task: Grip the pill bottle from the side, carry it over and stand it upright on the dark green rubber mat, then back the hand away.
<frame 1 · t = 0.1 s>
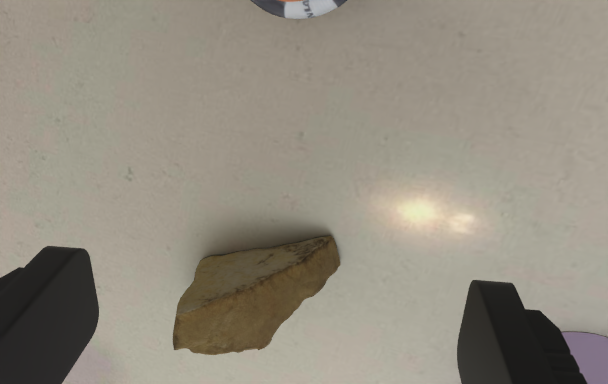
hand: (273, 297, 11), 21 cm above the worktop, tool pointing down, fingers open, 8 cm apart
rock: (266, 266, 37), on the worktop
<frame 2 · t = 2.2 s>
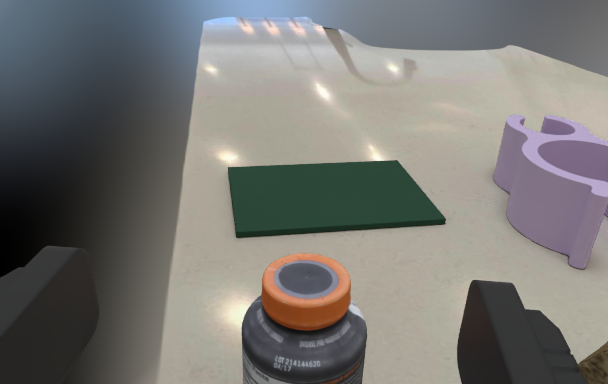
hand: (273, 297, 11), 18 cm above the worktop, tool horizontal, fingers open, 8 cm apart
clip: (559, 213, 54), on the worktop
mat: (328, 196, 55), on the worktop
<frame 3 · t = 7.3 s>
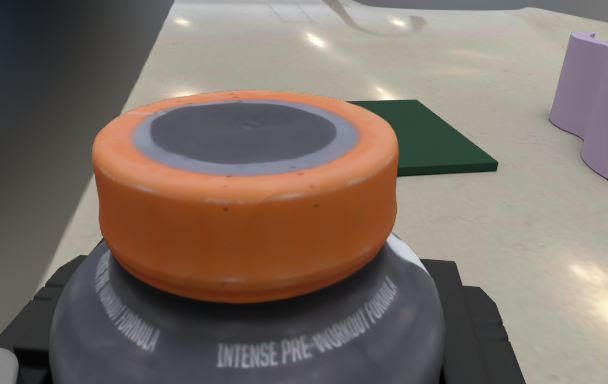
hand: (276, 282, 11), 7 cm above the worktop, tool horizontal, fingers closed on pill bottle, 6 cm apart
mat: (323, 138, 38), on the worktop
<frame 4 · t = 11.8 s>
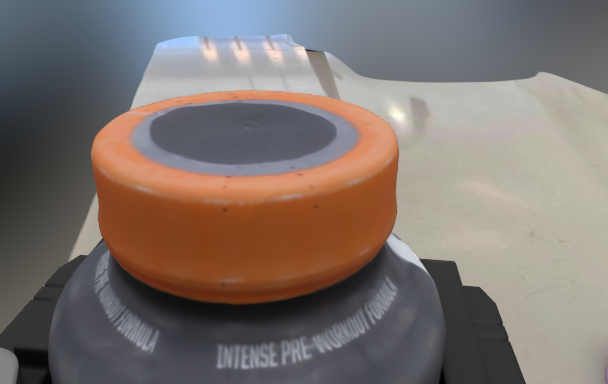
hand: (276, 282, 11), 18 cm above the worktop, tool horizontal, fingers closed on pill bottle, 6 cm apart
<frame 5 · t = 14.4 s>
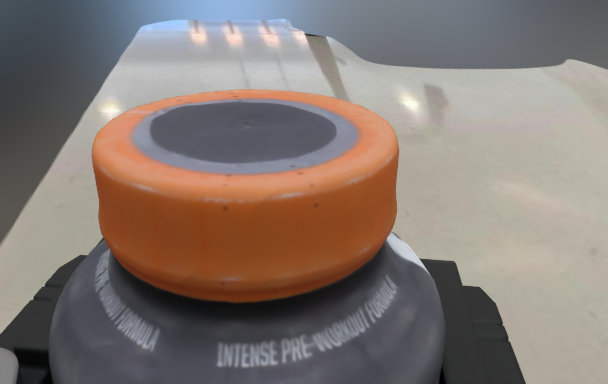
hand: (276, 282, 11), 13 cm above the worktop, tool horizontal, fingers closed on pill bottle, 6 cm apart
when the fingers open (7 cm above the worktop, at t = 16.5 s): pill bottle stays where it is, resting on mat.
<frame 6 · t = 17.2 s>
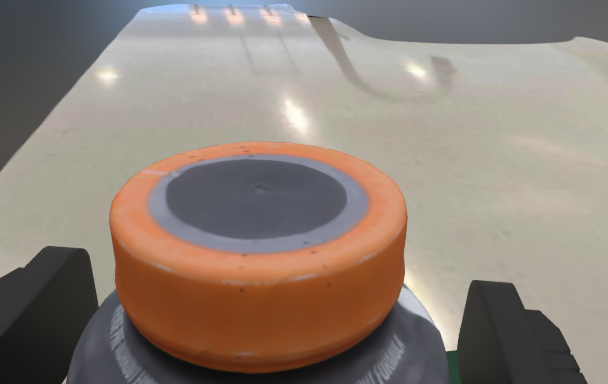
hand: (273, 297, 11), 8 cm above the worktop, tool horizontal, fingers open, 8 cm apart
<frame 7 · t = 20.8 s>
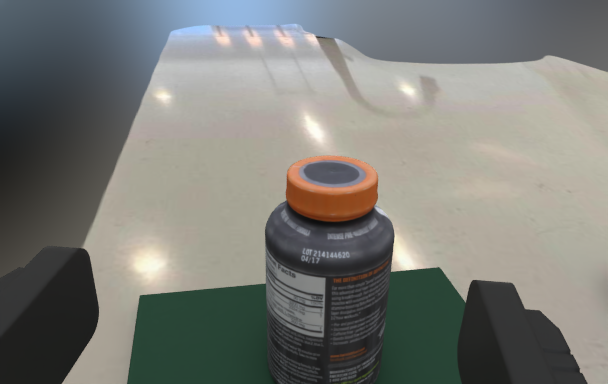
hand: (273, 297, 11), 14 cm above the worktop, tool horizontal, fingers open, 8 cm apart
mat: (320, 365, 28), on the worktop
pill bottle: (323, 367, 28), resting on mat
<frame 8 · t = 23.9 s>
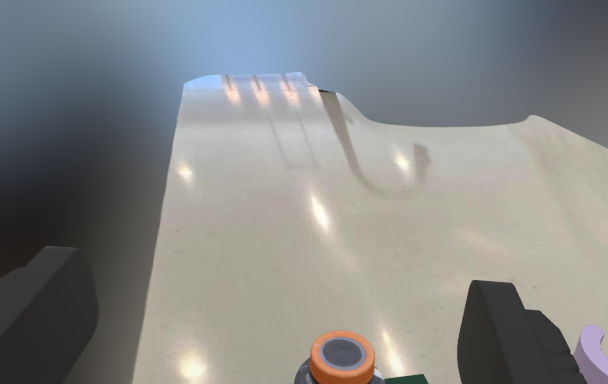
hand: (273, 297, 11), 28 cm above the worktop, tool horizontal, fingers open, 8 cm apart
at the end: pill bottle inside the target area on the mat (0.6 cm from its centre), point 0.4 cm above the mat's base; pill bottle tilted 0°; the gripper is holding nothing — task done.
